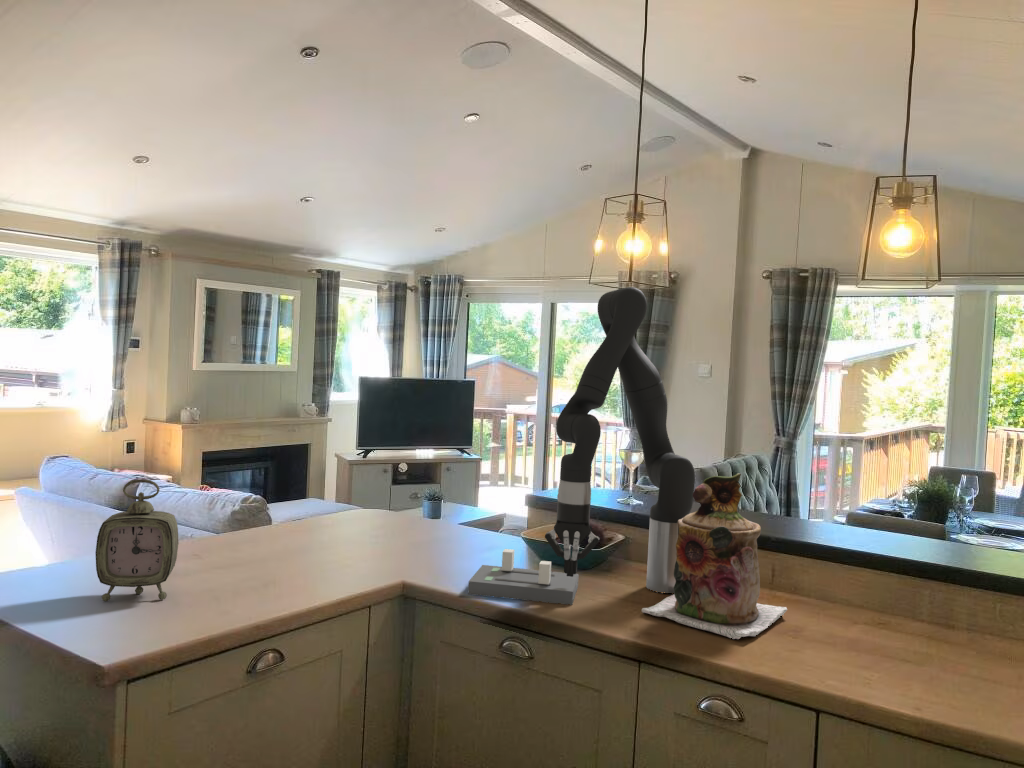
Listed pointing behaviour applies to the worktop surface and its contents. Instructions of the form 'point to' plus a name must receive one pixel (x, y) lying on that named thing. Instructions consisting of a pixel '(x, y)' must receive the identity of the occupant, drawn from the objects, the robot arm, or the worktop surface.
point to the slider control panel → (523, 585)
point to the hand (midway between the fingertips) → (570, 575)
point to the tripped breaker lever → (544, 572)
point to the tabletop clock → (137, 546)
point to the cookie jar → (717, 567)
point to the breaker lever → (508, 560)
